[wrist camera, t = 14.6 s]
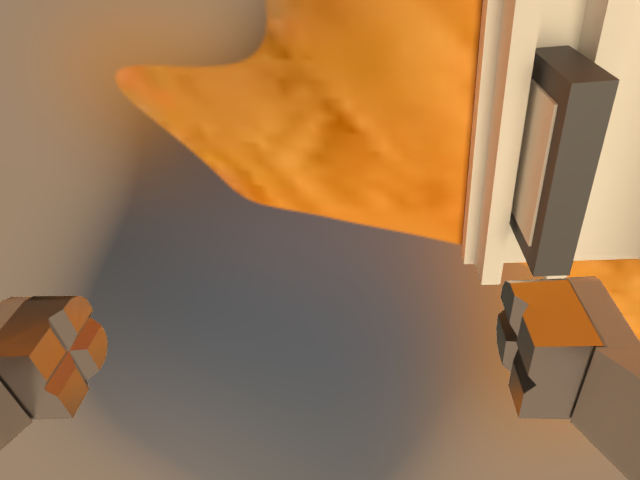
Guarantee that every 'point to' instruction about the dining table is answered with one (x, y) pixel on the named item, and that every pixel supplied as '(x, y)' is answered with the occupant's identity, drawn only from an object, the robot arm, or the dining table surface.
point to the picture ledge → (509, 117)
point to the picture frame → (559, 155)
